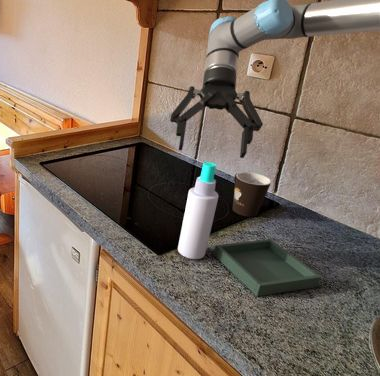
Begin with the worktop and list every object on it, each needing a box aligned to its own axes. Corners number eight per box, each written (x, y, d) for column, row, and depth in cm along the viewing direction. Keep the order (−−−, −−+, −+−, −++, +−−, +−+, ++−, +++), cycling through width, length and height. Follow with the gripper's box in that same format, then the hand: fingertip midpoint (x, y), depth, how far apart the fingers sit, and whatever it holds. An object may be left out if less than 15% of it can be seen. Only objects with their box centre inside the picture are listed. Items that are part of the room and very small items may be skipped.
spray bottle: (175, 255, 92) (192, 166, 83) (180, 242, 97) (196, 157, 88) (202, 263, 90) (223, 171, 80) (206, 249, 95) (226, 162, 85)
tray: (317, 287, 83) (321, 276, 82) (256, 296, 80) (260, 285, 79) (267, 248, 96) (270, 238, 95) (213, 254, 93) (215, 245, 92)
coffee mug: (264, 221, 108) (273, 187, 104) (229, 215, 110) (237, 181, 106) (258, 202, 118) (267, 170, 114) (226, 197, 120) (234, 166, 116)
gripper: (270, 88, 100) (265, 165, 94) (166, 79, 107) (155, 151, 100) (280, 69, 93) (276, 151, 87) (169, 61, 100) (157, 137, 93)
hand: (211, 151), depth 93 cm, fingers open, 13 cm apart
